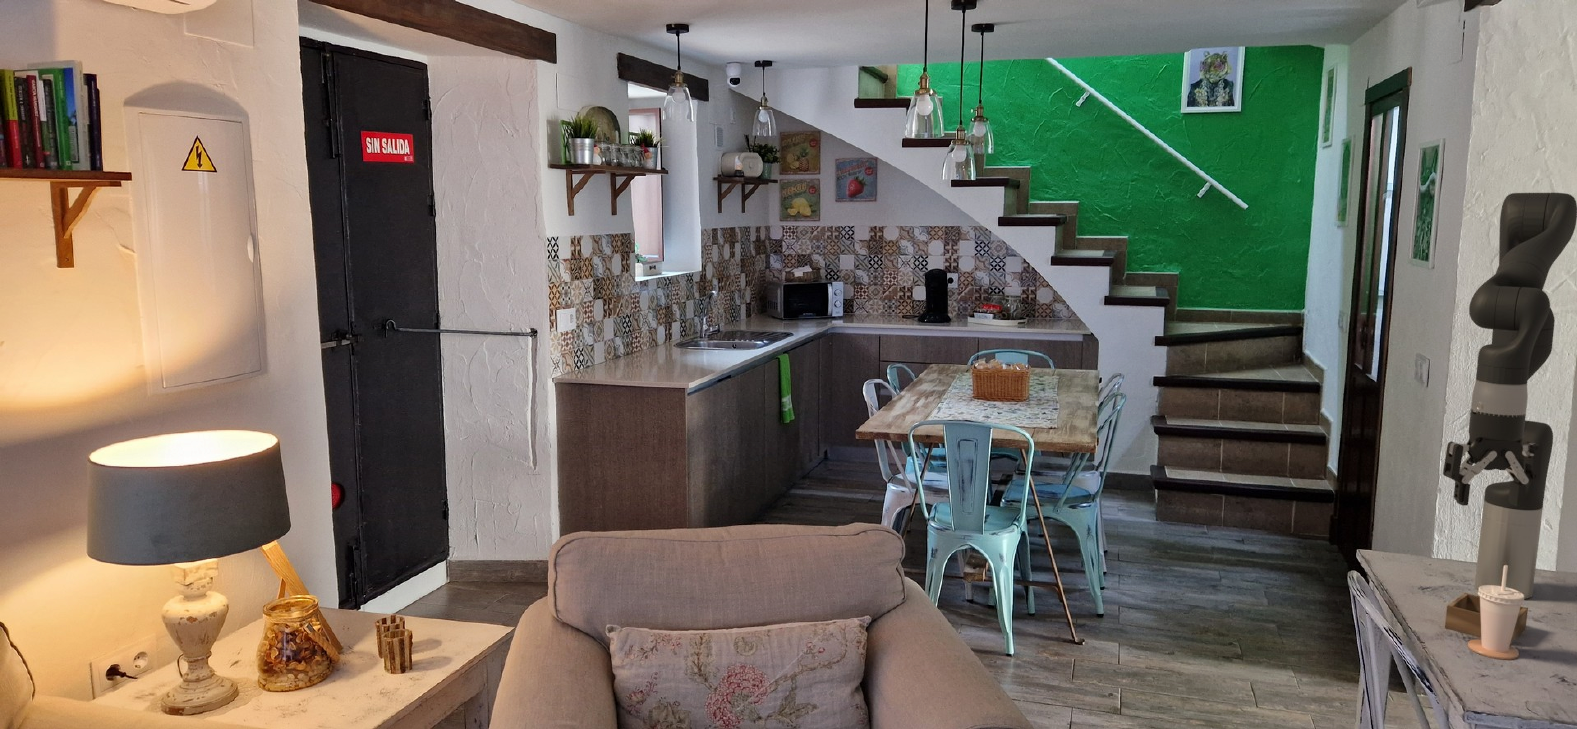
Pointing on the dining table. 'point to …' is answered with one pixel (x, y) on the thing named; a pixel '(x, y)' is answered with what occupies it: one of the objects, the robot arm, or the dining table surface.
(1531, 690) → the dining table surface
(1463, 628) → the caddy
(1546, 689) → the dining table surface
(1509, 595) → the smoothie
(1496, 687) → the dining table surface
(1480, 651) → the coaster
